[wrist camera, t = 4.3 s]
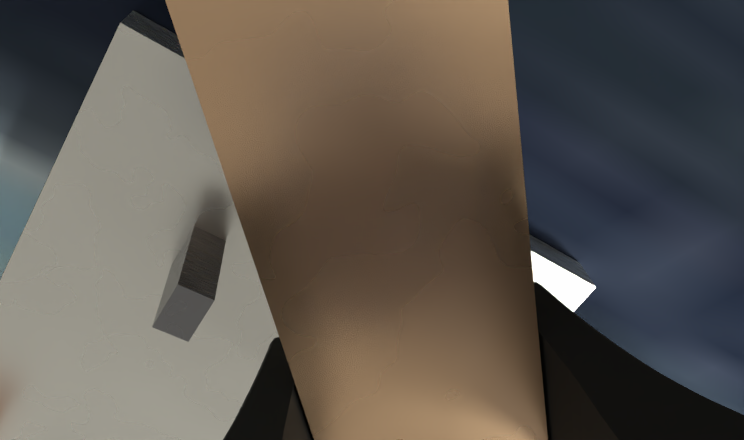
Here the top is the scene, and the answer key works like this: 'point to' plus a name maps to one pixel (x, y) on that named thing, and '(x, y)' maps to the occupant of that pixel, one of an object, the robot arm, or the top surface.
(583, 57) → the top surface
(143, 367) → the firebox plate
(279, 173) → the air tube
